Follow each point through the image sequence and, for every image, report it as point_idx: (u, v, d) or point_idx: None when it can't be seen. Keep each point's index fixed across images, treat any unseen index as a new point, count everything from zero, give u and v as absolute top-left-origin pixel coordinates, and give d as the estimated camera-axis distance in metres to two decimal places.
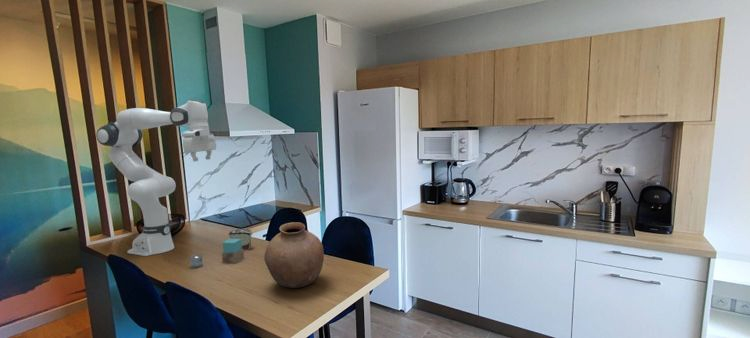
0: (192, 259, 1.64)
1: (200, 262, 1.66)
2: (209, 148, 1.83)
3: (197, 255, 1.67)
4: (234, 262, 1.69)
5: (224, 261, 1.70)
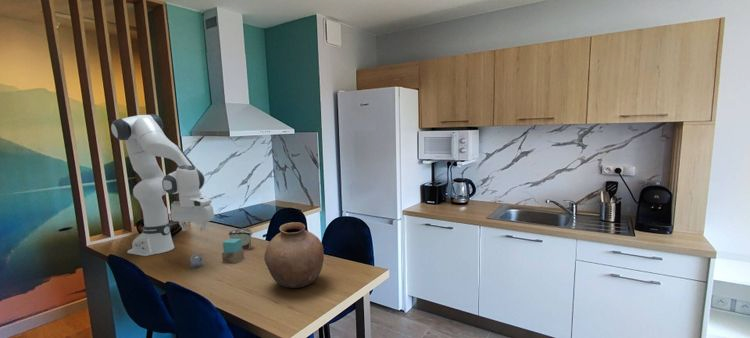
0: (192, 259, 1.64)
1: (200, 262, 1.66)
2: None
3: (197, 255, 1.67)
4: (234, 262, 1.69)
5: (224, 261, 1.70)
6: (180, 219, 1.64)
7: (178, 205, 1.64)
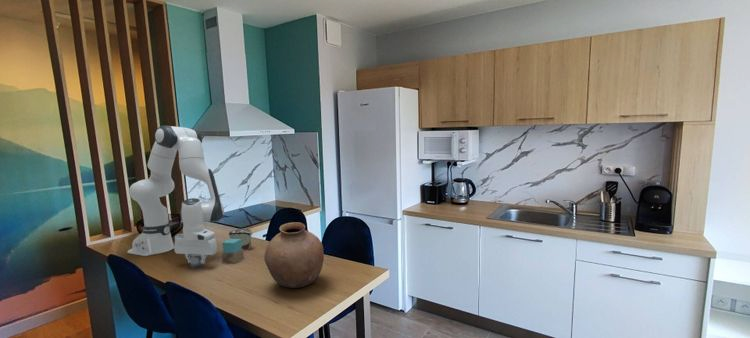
0: (192, 259, 1.64)
1: None
2: None
3: (197, 255, 1.67)
4: (234, 262, 1.69)
5: (224, 261, 1.70)
6: (183, 252, 1.66)
7: (182, 238, 1.66)
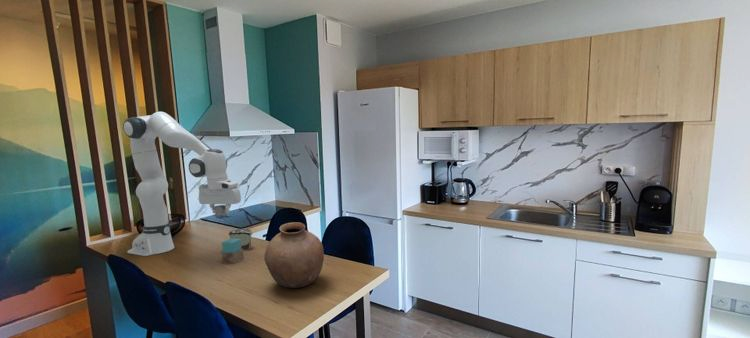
0: (217, 208, 1.66)
1: None
2: None
3: (221, 205, 1.69)
4: (234, 262, 1.69)
5: (224, 261, 1.70)
6: (208, 202, 1.67)
7: (206, 188, 1.67)
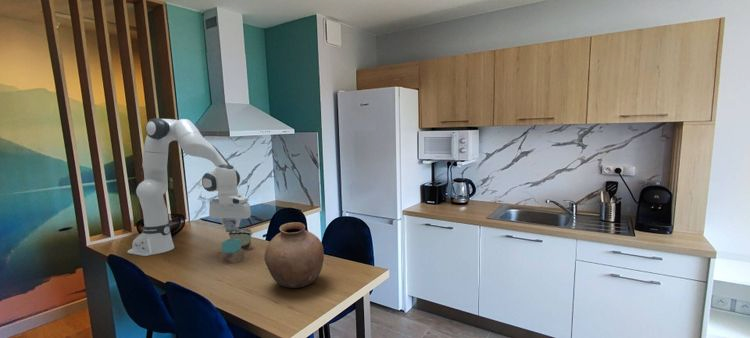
0: (227, 223, 1.69)
1: None
2: None
3: (231, 219, 1.72)
4: (234, 262, 1.69)
5: (224, 261, 1.70)
6: (218, 216, 1.70)
7: (216, 202, 1.70)
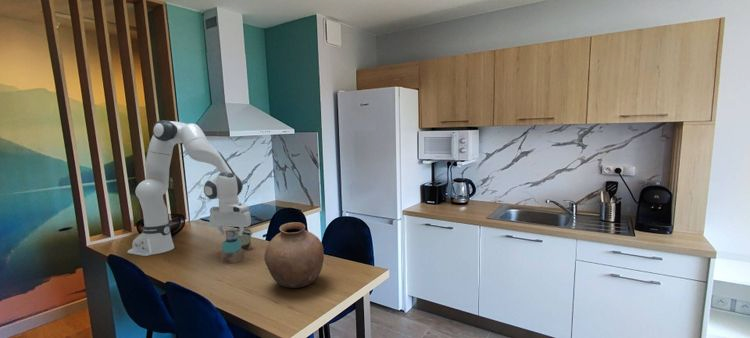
0: (227, 233, 1.69)
1: (235, 236, 1.71)
2: None
3: (232, 230, 1.72)
4: (234, 262, 1.69)
5: (224, 261, 1.70)
6: (218, 224, 1.70)
7: (217, 210, 1.71)
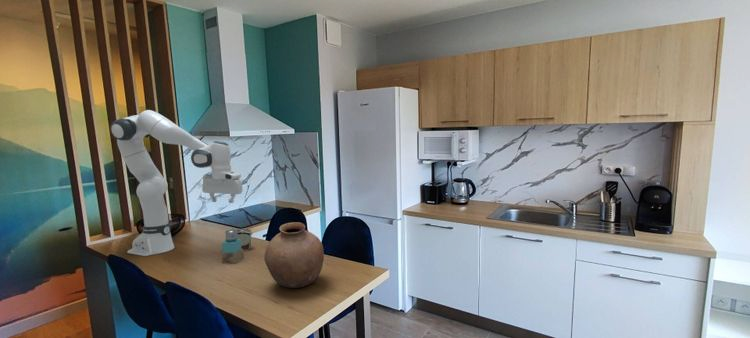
0: (227, 233, 1.69)
1: (235, 236, 1.71)
2: None
3: (232, 230, 1.72)
4: (234, 262, 1.69)
5: (224, 261, 1.70)
6: (211, 191, 1.76)
7: (210, 178, 1.76)
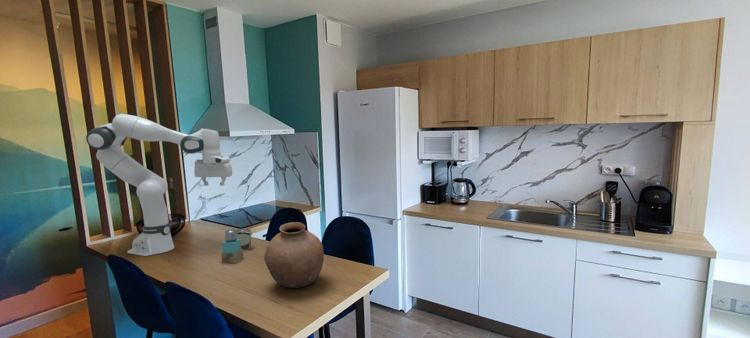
0: (227, 233, 1.69)
1: (234, 237, 1.71)
2: None
3: (231, 230, 1.72)
4: (234, 262, 1.69)
5: (224, 261, 1.70)
6: (202, 175, 1.86)
7: (201, 163, 1.86)
